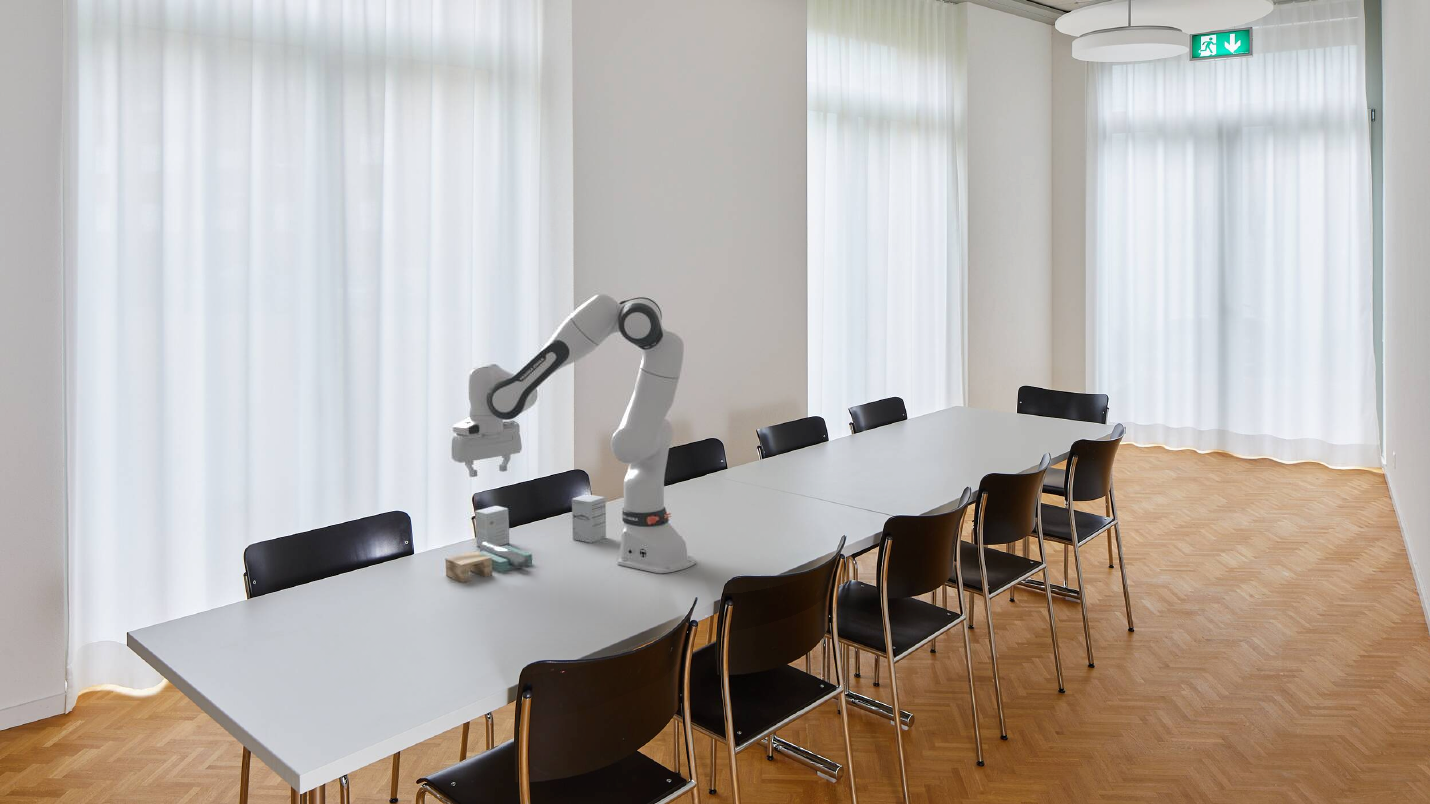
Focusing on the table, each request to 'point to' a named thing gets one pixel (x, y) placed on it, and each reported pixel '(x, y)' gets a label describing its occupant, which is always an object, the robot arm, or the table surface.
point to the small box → (492, 525)
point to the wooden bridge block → (468, 565)
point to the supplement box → (589, 518)
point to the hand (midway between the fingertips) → (488, 473)
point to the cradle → (502, 563)
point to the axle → (505, 554)
